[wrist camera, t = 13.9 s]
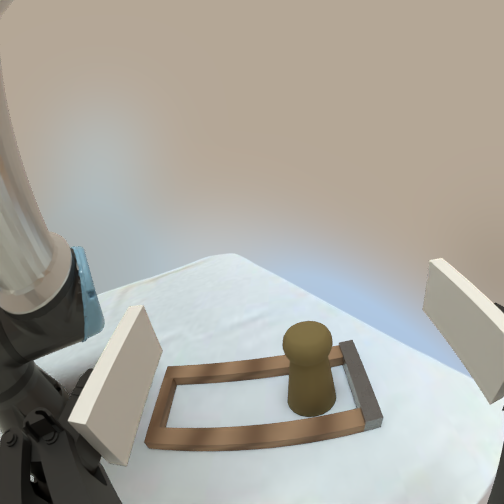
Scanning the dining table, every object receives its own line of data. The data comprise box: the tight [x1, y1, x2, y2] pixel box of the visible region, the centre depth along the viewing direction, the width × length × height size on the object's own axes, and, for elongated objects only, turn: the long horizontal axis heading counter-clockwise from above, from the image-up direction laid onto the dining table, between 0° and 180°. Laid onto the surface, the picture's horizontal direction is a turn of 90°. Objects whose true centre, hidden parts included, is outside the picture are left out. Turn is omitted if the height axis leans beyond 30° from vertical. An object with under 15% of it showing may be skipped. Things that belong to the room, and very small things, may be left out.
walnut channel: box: [144, 345, 365, 451], centre depth 33 cm, size 25×14×2 cm, turn 90°
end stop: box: [339, 340, 383, 431], centre depth 32 cm, size 2×14×2 cm, turn 0°
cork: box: [283, 321, 336, 417], centre depth 30 cm, size 6×6×11 cm
